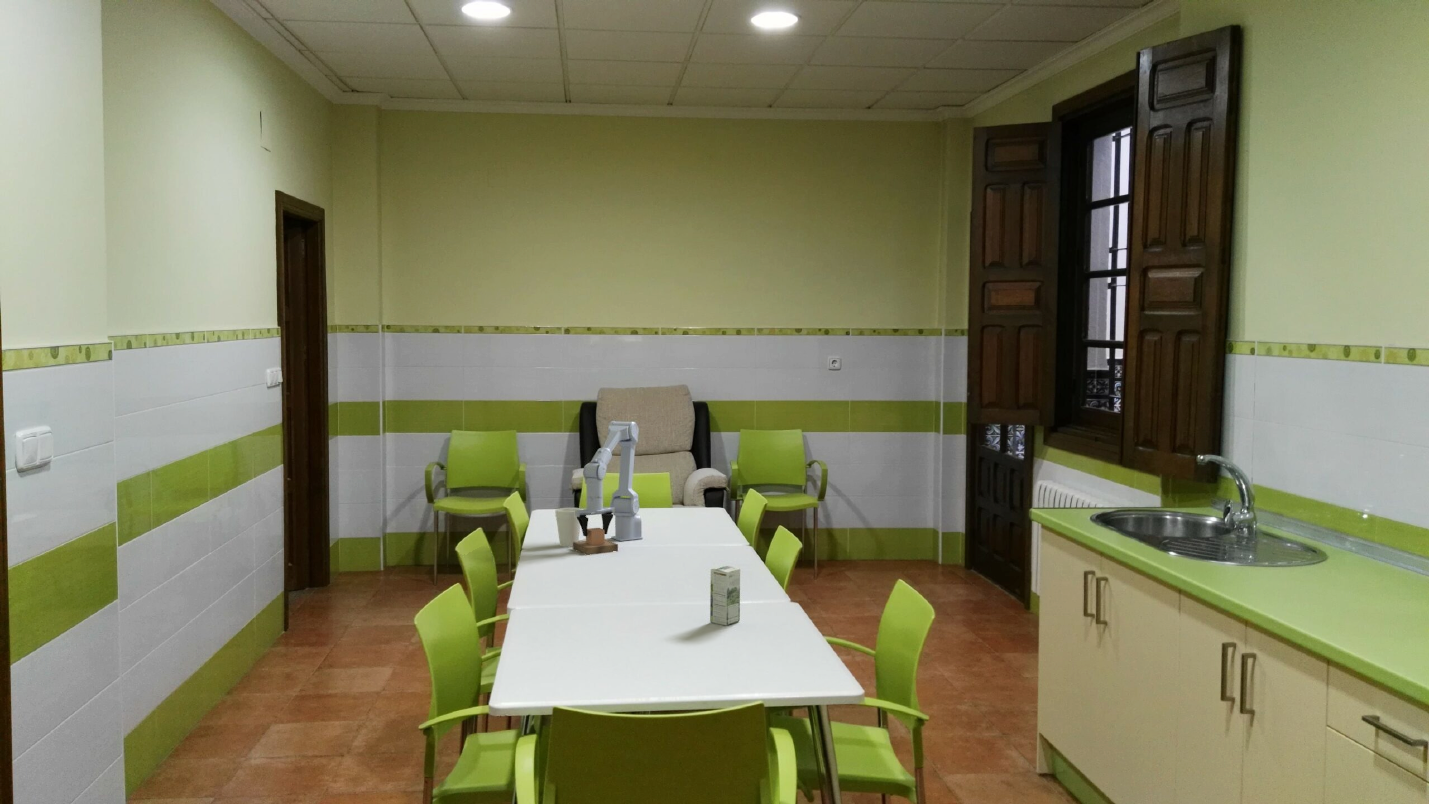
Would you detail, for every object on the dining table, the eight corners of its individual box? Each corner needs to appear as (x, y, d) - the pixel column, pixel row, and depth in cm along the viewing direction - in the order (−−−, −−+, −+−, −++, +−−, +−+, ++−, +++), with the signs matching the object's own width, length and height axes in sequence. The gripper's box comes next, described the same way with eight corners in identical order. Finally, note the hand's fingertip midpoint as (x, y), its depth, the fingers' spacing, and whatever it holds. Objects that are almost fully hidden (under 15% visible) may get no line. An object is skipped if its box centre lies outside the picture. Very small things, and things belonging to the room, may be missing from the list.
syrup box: (723, 617, 284) (723, 564, 283) (740, 621, 280) (740, 567, 279) (709, 622, 280) (709, 568, 279) (727, 626, 276) (727, 571, 275)
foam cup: (579, 547, 379) (579, 511, 378) (554, 547, 379) (553, 511, 378) (583, 542, 388) (583, 507, 388) (558, 542, 389) (558, 507, 388)
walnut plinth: (603, 546, 383) (603, 538, 383) (617, 552, 373) (617, 544, 373) (573, 550, 377) (572, 542, 377) (586, 556, 367) (586, 547, 367)
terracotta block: (598, 541, 378) (598, 527, 378) (604, 543, 374) (604, 529, 373) (585, 542, 376) (585, 528, 375) (591, 545, 371) (591, 531, 371)
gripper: (580, 500, 367) (580, 538, 367) (618, 496, 374) (618, 534, 375) (572, 497, 373) (572, 535, 374) (609, 494, 380) (610, 531, 381)
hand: (595, 534), depth 375 cm, fingers open, 7 cm apart
